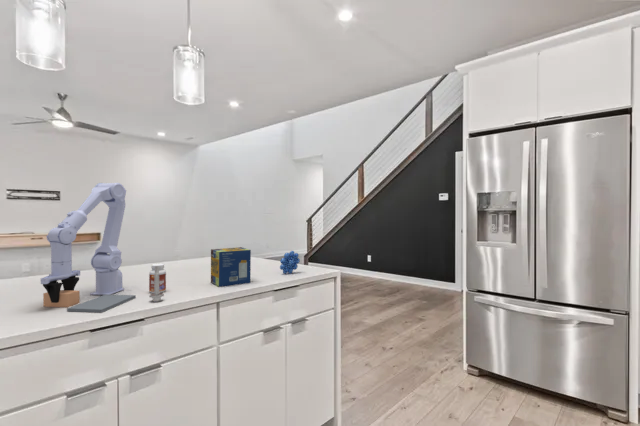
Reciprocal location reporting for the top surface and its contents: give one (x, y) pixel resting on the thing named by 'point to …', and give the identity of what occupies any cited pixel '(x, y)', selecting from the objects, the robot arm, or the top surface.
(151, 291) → the pill bottle
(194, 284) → the top surface
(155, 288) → the white flanged spindle
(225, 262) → the protein box
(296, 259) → the grapes
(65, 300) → the tan rectangular block
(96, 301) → the rubber mat
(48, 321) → the top surface
